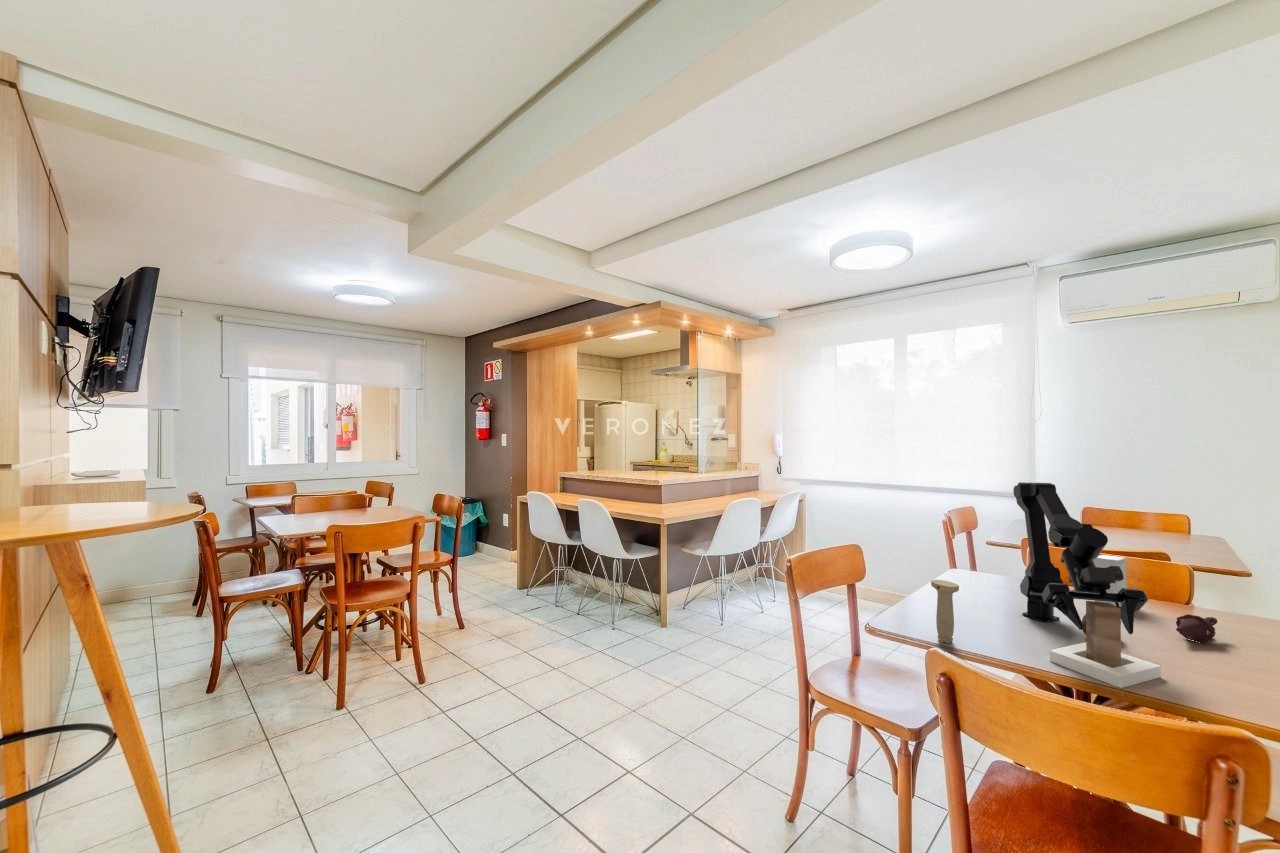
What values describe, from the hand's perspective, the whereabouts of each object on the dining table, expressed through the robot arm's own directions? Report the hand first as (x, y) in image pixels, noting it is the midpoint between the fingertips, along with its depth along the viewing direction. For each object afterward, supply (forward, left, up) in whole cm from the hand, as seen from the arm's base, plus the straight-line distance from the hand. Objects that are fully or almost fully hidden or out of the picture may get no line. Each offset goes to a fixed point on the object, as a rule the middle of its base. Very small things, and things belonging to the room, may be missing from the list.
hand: (1106, 631), depth 119 cm
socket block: (-1, -1, -9) cm, 9 cm away
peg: (-1, -1, -8) cm, 9 cm away
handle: (+19, -25, -9) cm, 33 cm away
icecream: (-41, -3, -9) cm, 42 cm away
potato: (-20, -13, -9) cm, 26 cm away
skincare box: (-54, -28, -9) cm, 61 cm away
